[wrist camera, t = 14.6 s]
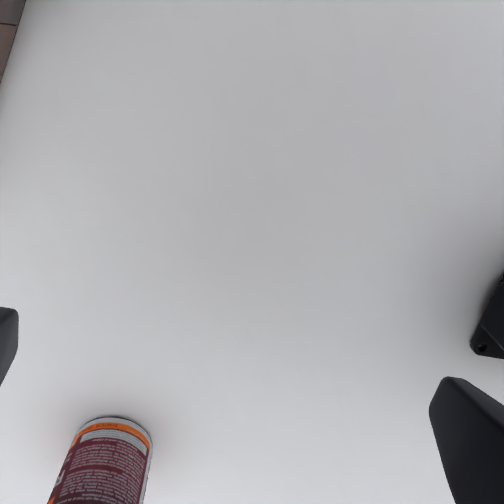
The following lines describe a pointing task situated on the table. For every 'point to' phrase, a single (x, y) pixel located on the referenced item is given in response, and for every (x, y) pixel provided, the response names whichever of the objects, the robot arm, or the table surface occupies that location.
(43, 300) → the table surface
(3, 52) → the tray
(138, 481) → the pill bottle
